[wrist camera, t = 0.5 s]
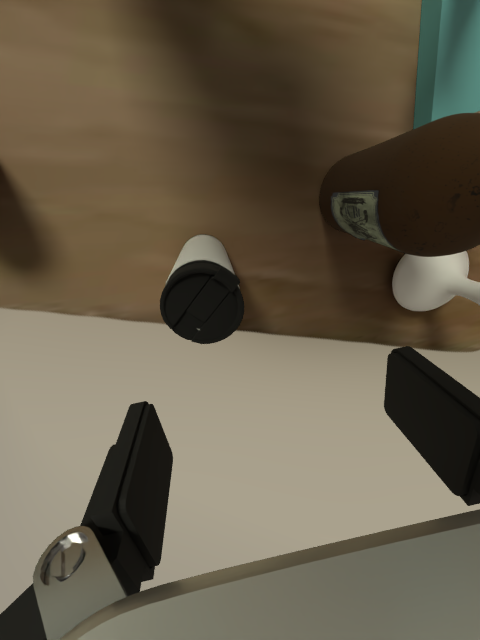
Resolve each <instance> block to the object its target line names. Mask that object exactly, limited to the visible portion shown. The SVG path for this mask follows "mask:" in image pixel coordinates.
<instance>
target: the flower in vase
mask: <svg viewBox="0 0 480 640" xmlns="http://www.w3.org/2000/svg"><path fill="white" fill-rule="evenodd" d="M468 272H469V259H468V254H467V252H466V251H464V252H461V253H457V254H452V255H446V256H438V257H420V256H414V255H409V254H406V253H405V254H404V256H403V257H402V258H401V260H400V261H399V263H398V264H397V266H396V269H395V271H394V275H393V280H392V288H393V293H394V297H395V298H396V300H397V302H398V303H399V304H400V305H401V306H402V307H404V308H406V309H408V310H412V311H428V310H432V309H435V308H438V307H440V306H442V305H443V304H445V303H447V302H448V301H450V300H451V299H452V298H453V297H454V296H455V295H459V296H462V297H465V298H467V299H469V300H472V301H473V302H475V303H477V304H479V305H480V282H476V281H473V280H470V279H468V278H467V276H468Z"/></svg>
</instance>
